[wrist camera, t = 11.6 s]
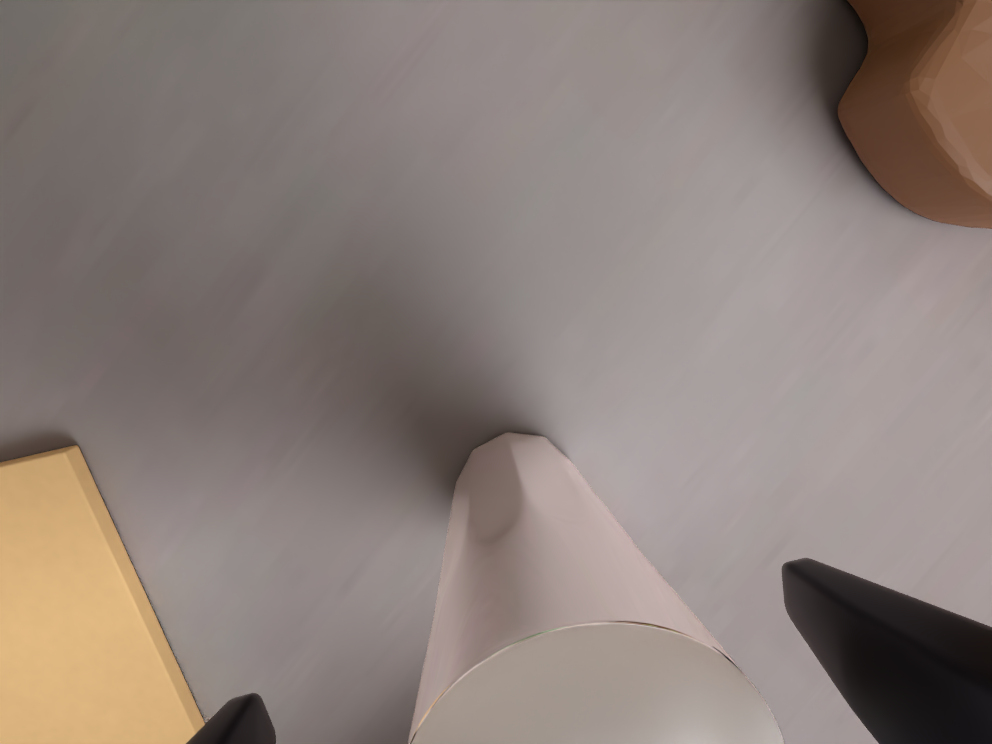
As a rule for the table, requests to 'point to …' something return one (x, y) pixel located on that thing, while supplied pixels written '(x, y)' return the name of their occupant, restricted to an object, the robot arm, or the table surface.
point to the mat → (78, 619)
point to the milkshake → (566, 623)
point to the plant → (926, 106)
